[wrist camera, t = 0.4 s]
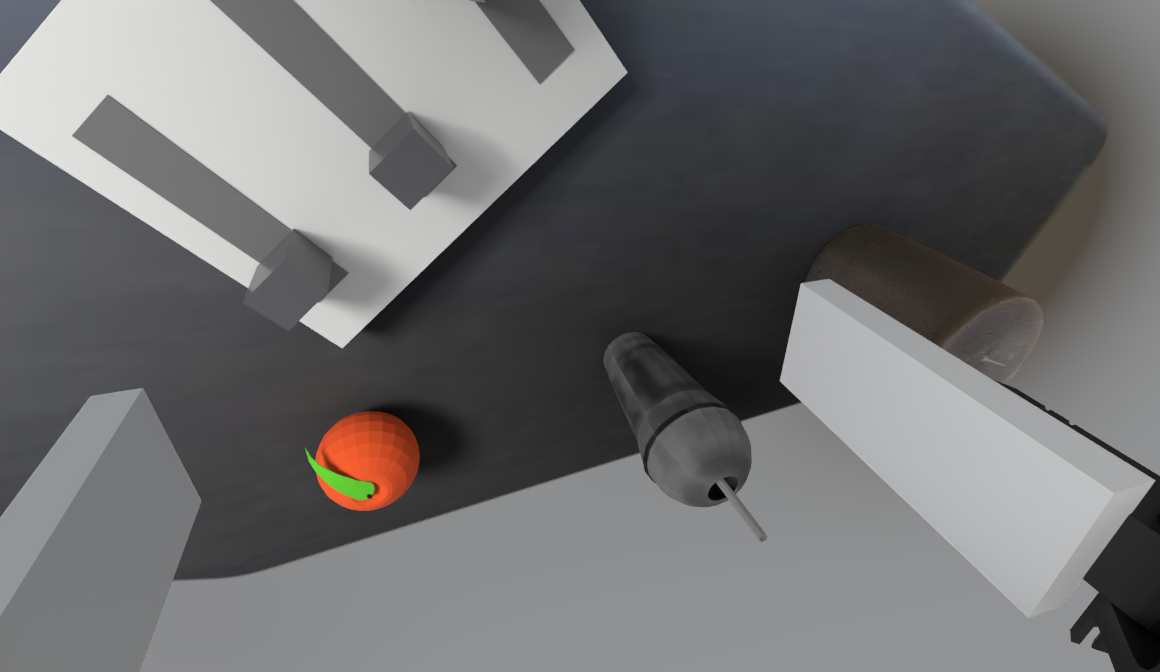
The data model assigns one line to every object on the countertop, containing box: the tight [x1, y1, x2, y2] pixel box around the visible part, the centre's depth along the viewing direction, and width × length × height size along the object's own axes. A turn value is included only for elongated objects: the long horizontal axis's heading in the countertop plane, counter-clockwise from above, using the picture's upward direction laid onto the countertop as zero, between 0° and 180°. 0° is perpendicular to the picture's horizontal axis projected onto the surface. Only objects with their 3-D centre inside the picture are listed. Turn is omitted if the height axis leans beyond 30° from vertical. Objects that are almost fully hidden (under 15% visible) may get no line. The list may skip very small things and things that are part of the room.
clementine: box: [305, 411, 420, 511], centre depth 39 cm, size 8×7×7 cm
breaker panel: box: [0, 0, 628, 348], centre depth 27 cm, size 19×24×8 cm
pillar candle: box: [805, 223, 1044, 383], centre depth 44 cm, size 10×10×15 cm
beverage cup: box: [603, 332, 767, 542], centre depth 38 cm, size 7×7×20 cm
